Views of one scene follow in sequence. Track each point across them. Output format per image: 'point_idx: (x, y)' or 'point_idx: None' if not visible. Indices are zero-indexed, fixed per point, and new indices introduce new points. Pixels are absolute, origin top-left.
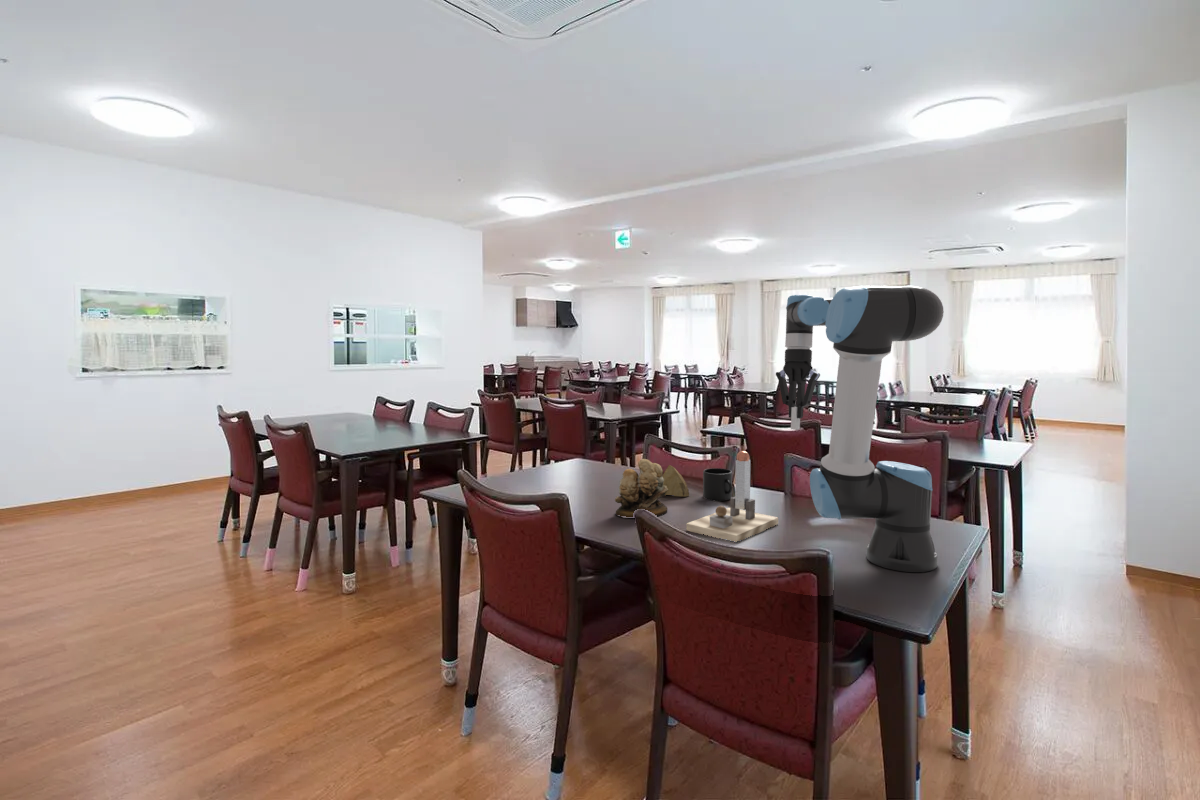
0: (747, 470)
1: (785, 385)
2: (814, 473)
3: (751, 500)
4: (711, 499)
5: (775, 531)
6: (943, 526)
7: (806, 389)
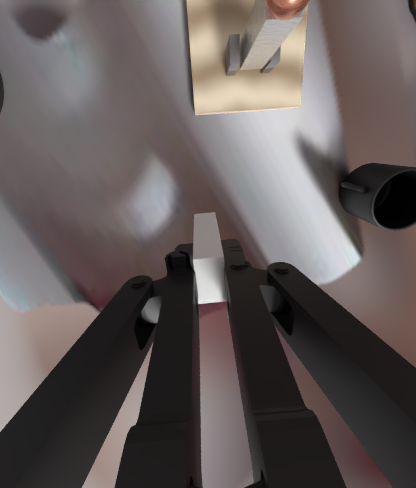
0: (258, 13)
1: (358, 408)
2: None
3: (232, 50)
4: (366, 164)
5: (174, 68)
6: (38, 285)
7: (91, 369)
